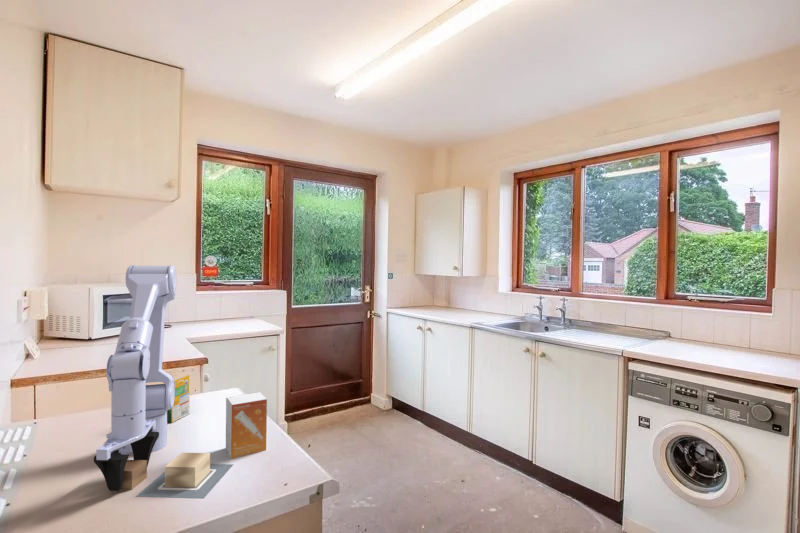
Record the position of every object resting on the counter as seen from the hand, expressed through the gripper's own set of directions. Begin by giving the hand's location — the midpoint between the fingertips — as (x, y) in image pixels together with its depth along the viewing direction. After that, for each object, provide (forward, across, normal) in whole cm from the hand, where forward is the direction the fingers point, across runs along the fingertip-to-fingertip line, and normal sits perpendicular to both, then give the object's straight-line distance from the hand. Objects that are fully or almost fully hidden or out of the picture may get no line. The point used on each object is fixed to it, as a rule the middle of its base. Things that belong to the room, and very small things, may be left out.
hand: (128, 479), depth 83 cm
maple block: (+1, -2, +11) cm, 11 cm away
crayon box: (+2, -36, -11) cm, 38 cm away
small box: (+2, -16, +17) cm, 24 cm away
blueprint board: (+2, -2, +11) cm, 11 cm away
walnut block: (+2, 0, 0) cm, 2 cm away
